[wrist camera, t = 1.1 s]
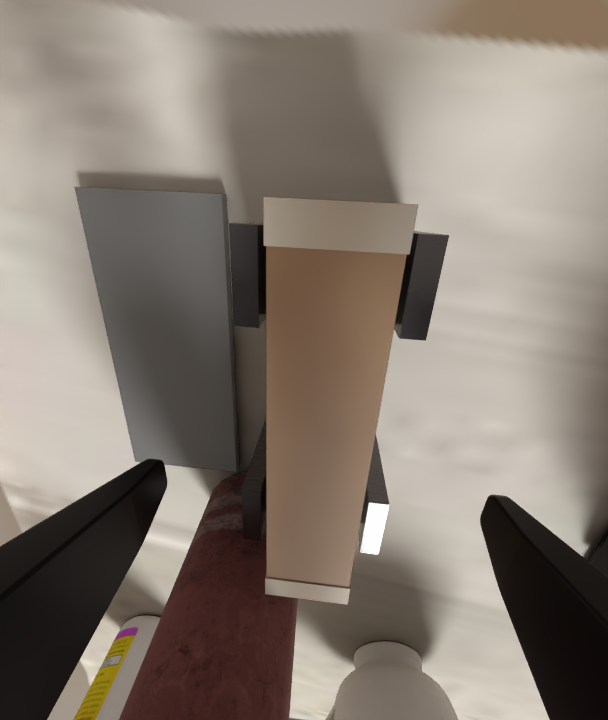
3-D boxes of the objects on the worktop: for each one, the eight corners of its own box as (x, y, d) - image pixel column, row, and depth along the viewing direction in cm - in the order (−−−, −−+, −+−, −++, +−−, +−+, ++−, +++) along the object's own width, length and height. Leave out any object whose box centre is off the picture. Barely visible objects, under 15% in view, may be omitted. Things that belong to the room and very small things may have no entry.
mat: (226, 195, 13) (221, 193, 13) (239, 465, 20) (236, 472, 19) (84, 187, 14) (74, 186, 13) (140, 454, 20) (135, 461, 19)
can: (286, 545, 22) (235, 983, 10) (201, 515, 22) (22, 946, 9) (323, 489, 20) (321, 975, 7) (229, 453, 19) (37, 924, 6)
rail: (392, 210, 10) (418, 204, 7) (345, 529, 15) (347, 604, 12) (285, 204, 10) (263, 197, 7) (278, 522, 16) (264, 593, 13)
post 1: (406, 230, 13) (448, 235, 8) (394, 299, 15) (425, 340, 10) (267, 222, 14) (229, 223, 9) (267, 291, 15) (234, 326, 10)
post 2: (373, 423, 17) (389, 504, 12) (366, 465, 19) (378, 554, 14) (267, 414, 18) (241, 489, 13) (267, 455, 19) (243, 538, 14)
